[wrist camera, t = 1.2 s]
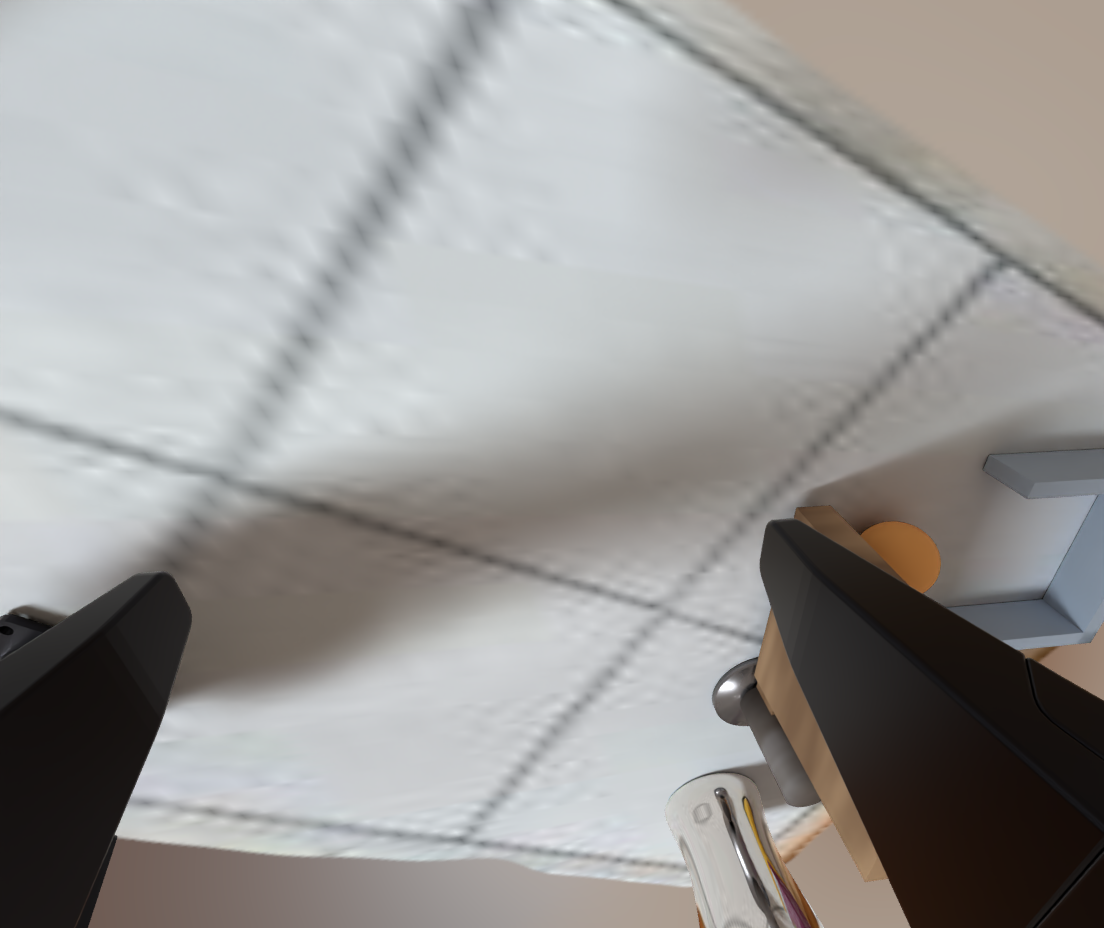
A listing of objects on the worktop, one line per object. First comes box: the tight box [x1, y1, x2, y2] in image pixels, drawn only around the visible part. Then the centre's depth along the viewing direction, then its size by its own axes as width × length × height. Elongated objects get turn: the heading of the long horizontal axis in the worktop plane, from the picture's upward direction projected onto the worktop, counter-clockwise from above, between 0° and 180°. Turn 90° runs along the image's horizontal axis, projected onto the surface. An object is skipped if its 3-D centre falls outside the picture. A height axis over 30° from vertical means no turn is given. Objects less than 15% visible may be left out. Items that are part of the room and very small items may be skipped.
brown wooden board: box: [740, 505, 908, 882], centre depth 25 cm, size 2×14×10 cm, turn 179°
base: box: [712, 658, 758, 726], centre depth 33 cm, size 5×5×1 cm
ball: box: [860, 521, 941, 593], centre depth 27 cm, size 4×4×4 cm
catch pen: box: [947, 449, 1104, 650], centre depth 29 cm, size 8×10×2 cm
